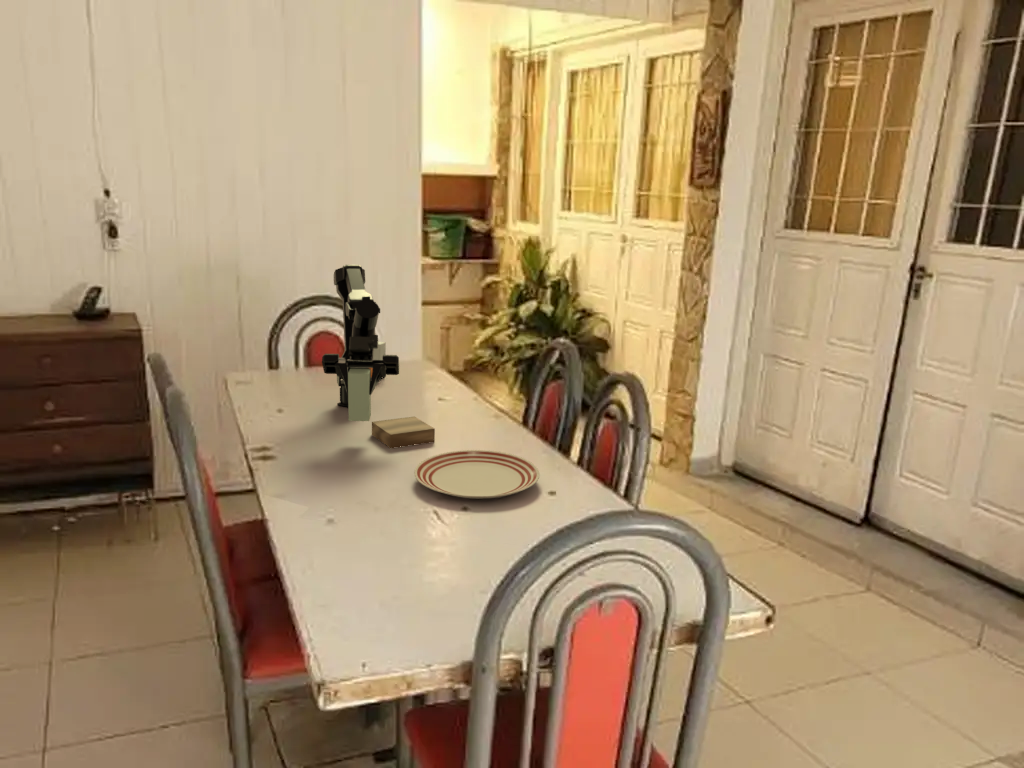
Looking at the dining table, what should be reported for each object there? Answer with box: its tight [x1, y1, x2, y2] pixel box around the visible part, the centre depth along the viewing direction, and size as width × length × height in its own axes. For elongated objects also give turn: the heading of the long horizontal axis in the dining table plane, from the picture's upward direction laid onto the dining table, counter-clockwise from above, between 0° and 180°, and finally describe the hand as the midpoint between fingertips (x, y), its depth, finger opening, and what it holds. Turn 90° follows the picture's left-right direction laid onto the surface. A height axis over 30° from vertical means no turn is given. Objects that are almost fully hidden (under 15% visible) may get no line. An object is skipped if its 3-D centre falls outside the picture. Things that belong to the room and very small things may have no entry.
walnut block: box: [371, 416, 436, 449], centre depth 208 cm, size 12×12×4 cm
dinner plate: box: [413, 449, 541, 500], centre depth 180 cm, size 28×27×3 cm
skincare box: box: [369, 341, 387, 379], centre depth 269 cm, size 6×4×12 cm
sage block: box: [347, 369, 372, 422], centre depth 202 cm, size 5×5×12 cm
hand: (359, 393), depth 201 cm, fingers closed on sage block, 5 cm apart
